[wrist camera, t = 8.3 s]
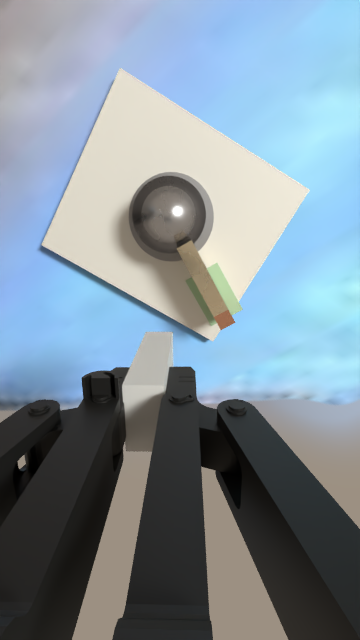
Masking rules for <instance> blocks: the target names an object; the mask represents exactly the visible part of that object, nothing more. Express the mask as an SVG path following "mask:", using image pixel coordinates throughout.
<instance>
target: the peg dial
mask: <svg viewBox="0 0 360 640" xmlns="http://www.w3.org/2000/svg"><path fill="white" fill-rule="evenodd" d="M132 219H133V224H134V228H135V230H136V232H137V234H138V236H139V238H140V239H141V240H142V241H143V242H144V243H145V244H146V245H147V246H148V247H150V248H151V249H153V250H155V251H158V252H161V253H177V252H179V254H180V256H181V258H182V260H183V262H184V263H185V265H186V267H187V269H188V271H189V273H190V274H191V276H192V278H193V280H194V282H195V284H196V285H197V287H198V289H199V291H200V293H201V295H202V297H203V298H204V300H205V302H206V304H207V306H208V308H209V309H210V311H211V313H212V315H213V317H214V319H215V321H216V322H217V324H218V326H219V328H220V330H222V329H224V328H226V327H228V326H230V325H231V324H233V323H235V321H234V319H233V318H232V316H231V314H230V312H229V310H228V308H227V306H226V304H225V302H224V300H223V299H222V297H221V295H220V293H219V291H218V289H217V287H216V285H215V283H214V282H213V280H212V278H211V276H210V274H209V272H208V270H207V268H206V266H205V264H204V263H203V261H202V259H201V257H200V255H199V253H198V251H197V249H196V247H195V246H194V243H195V242H196V241H197V240H198V238H199V237H200V235H201V233H202V231H203V229H204V226H205V221H206V209H205V204H204V201H203V198H202V196H201V194H200V193H199V191H198V190H197V189H196V188H195V187H194V186H193V185H192V184H191V183H190V182H188V181H187V180H185V179H183V178H180V177H176V176H162V177H158V178H155V179H153V180H151V181H150V182H148V183H147V184H146V185H145V186H143V187H142V189H141V190H140V191H139V193H138V194H137V196H136V198H135V201H134V204H133V210H132Z"/></svg>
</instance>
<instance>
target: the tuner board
mask: <svg viewBox="0 0 360 640" xmlns="http://www.w3.org/2000/svg"><path fill="white" fill-rule="evenodd" d="M162 176H176V177H180V178H183V179H185V180H187V181H188V182H190V183H191V184H192V185H193V186H194V187H195V188H196V189H197V190H198V191H199V193H200V194H201V196H202V198H203V201H204V204H205V209H206V221H205V226H204V229H203V231H202V233H201V235H200V237H199V238H198V240H197V241H196V242H195V243H194V246H195V247H196V249H197V251H198V253H199V255H200V257H201V259H202V261H203V263H204V264H205V266H206V268H207V270H208V272H209V274H210V276H211V278H212V280H213V282H214V283H215V285H216V287H217V289H218V291H219V293H220V295H221V297H222V299H223V300H224V302H225V304H226V306H227V308H228V310H229V312H230V314H231V315H233V314H235V313H237V312H239V311H241V310H242V307H241V306H240V304H239V300H240V299H241V297H242V295H243V294H244V292H245V291H246V289H247V288H248V286H249V284H250V283H251V281H252V280H253V278H254V277H255V275H256V273H257V272H258V270H259V269H260V267H261V266H262V264H263V262H264V261H265V259H266V258H267V256H268V255H269V253H270V251H271V250H272V248H273V247H274V245H275V244H276V242H277V240H278V239H279V237H280V236H281V234H282V233H283V231H284V229H285V228H286V226H287V225H288V223H289V222H290V220H291V218H292V217H293V215H294V214H295V212H296V211H297V209H298V207H299V206H300V204H301V203H302V201H303V200H304V198H305V197H306V195H307V193H308V192H309V189H307V188H306V187H304V186H303V185H301V184H300V183H298V182H297V181H295V180H293V179H292V178H290V177H289V176H287V175H286V174H284V173H283V172H281V171H280V170H278V169H276V168H275V167H273V166H272V165H270V164H269V163H267V162H266V161H264V160H262V159H261V158H259V157H258V156H256V155H255V154H253V153H252V152H250V151H248V150H247V149H245V148H244V147H242V146H241V145H239V144H238V143H236V142H234V141H233V140H231V139H230V138H228V137H227V136H225V135H224V134H222V133H220V132H219V131H217V130H216V129H214V128H213V127H211V126H210V125H208V124H206V123H205V122H203V121H202V120H200V119H199V118H197V117H196V116H194V115H192V114H191V113H189V112H188V111H186V110H185V109H183V108H182V107H180V106H179V105H177V104H175V103H174V102H172V101H171V100H169V99H168V98H166V97H165V96H163V95H161V94H160V93H158V92H157V91H155V90H154V89H152V88H151V87H149V86H147V85H146V84H144V83H143V82H141V81H140V80H138V79H137V78H135V77H133V76H132V75H130V74H129V73H127V72H126V71H124V70H123V69H121V68H120V69H119V71H118V74H117V76H116V78H115V80H114V83H113V85H112V87H111V89H110V92H109V94H108V96H107V98H106V101H105V103H104V105H103V107H102V110H101V112H100V114H99V116H98V119H97V121H96V123H95V125H94V128H93V130H92V132H91V134H90V137H89V139H88V141H87V144H86V146H85V148H84V150H83V153H82V155H81V157H80V159H79V162H78V164H77V166H76V168H75V171H74V173H73V175H72V177H71V180H70V182H69V184H68V186H67V189H66V191H65V193H64V195H63V198H62V200H61V202H60V204H59V207H58V209H57V211H56V214H55V216H54V218H53V220H52V223H51V225H50V227H49V229H48V232H47V234H46V236H45V238H44V241H43V243H42V246H44V247H46V248H48V249H50V250H51V251H53V252H55V253H57V254H58V255H60V256H62V257H64V258H66V259H67V260H69V261H71V262H73V263H74V264H76V265H78V266H80V267H82V268H83V269H85V270H87V271H89V272H90V273H92V274H94V275H96V276H98V277H99V278H101V279H103V280H105V281H106V282H108V283H110V284H112V285H114V286H115V287H117V288H119V289H121V290H122V291H124V292H126V293H128V294H130V295H131V296H133V297H135V298H137V299H138V300H140V301H142V302H144V303H146V304H147V305H149V306H151V307H153V308H154V309H156V310H158V311H160V312H162V313H163V314H165V315H167V316H169V317H170V318H172V319H174V320H176V321H178V322H179V323H181V324H183V325H185V326H186V327H188V328H190V329H192V330H194V331H195V332H197V333H199V334H201V335H202V336H204V337H206V338H208V339H210V340H211V341H214V339H215V338H216V336H217V335H218V333H219V331H220V328H219V326H218V324H217V322H216V321H215V319H214V317H213V315H212V313H211V311H210V309H209V308H208V306H207V304H206V302H205V300H204V298H203V297H202V295H201V293H200V291H199V289H198V287H197V285H196V284H195V282H194V280H193V278H192V276H191V274H190V273H189V271H188V269H187V267H186V265H185V263H184V262H183V260H182V258H181V256H180V254H179V252H177V253H161V252H158V251H155V250H153V249H151V248H150V247H148V246H147V245H146V244H145V243H144V242H143V241H142V240H141V239H140V238H139V236H138V234H137V232H136V230H135V228H134V224H133V219H132V210H133V204H134V201H135V198H136V196H137V194H138V193H139V191H140V190H141V189H142V187H143V186H145V185H146V184H147V183H148V182H150V181H151V180H153V179H155V178H158V177H162Z"/></svg>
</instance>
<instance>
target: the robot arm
mask: <svg viewBox="0 0 360 640" xmlns="http://www.w3.org/2000/svg"><path fill="white" fill-rule="evenodd" d="M82 387H83V398H84V399H83V400H82V402H81V404H80V405H79V407H78V408H73V409H68V410H62V411H60V404H59V403H58V402H57V401H53V400H38V401H35V402H33V403H30V404H28V405H26V406H24V407H22V408H21V409H20V410H18V411H17V412H15V413H14V414H12V415H11V416H10V417H8V418H7V419H5V420H4V421H2V422H1V423H0V640H72V637H73V634H74V630H75V627H76V623H77V620H78V616H79V613H80V609H81V606H82V602H83V599H84V595H85V592H86V588H87V584H88V581H89V578H90V574H91V571H92V567H93V564H94V560H95V557H96V554H97V550H98V547H99V543H100V539H101V536H102V532H103V529H104V526H105V522H106V519H107V515H108V512H109V508H110V505H111V501H112V498H113V494H114V491H115V487H116V484H117V480H118V477H119V473H120V469H121V467H122V463H123V445H124V442H125V444H126V451H152V455H151V461H150V467H149V473H148V478H147V484H146V490H145V496H144V502H143V508H142V514H141V520H140V525H139V531H138V536H137V542H136V549H135V554H134V560H133V566H132V571H131V577H130V583H129V589H128V595H127V601H126V606H125V611H124V614H123V617H122V618H120V619H118V622H117V624H116V627H115V630H114V635H113V639H112V640H213V636H212V625H211V621H210V616H209V603H208V584H207V566H206V547H205V529H204V510H203V494H202V493H203V492H202V474H201V466H202V467H205V468H209V469H213V470H216V477H217V480H218V482H219V484H220V487H221V489H222V491H223V493H224V496H225V498H226V500H227V502H228V505H229V507H230V509H231V511H232V514H233V516H234V518H235V520H236V522H237V525H238V527H239V529H240V532H241V534H242V536H243V538H244V541H245V542H246V545H247V547H248V549H249V552H250V554H251V556H252V559H253V561H254V563H255V565H256V568H257V570H258V572H259V574H260V577H261V579H262V581H263V583H264V586H265V588H266V590H267V592H268V595H269V597H270V599H271V601H272V603H273V606H274V608H275V610H276V612H277V615H278V617H279V619H280V622H281V624H282V626H283V628H284V631H285V633H286V635H287V637H288V639H289V640H360V529H359V528H358V526H357V525H356V524H355V523H354V522H353V521H352V519H351V518H350V517H349V516H348V515H347V514H346V513H345V511H344V510H343V509H342V508H341V507H340V506H339V504H338V503H337V502H336V501H335V500H334V499H333V497H332V496H331V495H330V494H329V493H328V492H327V490H326V489H325V488H324V487H323V486H322V485H321V484H320V482H319V481H318V480H317V479H316V478H315V476H314V475H313V474H312V473H311V472H310V471H309V470H308V468H307V467H306V466H305V465H304V464H303V463H302V462H301V460H300V459H299V458H298V457H297V456H296V455H295V454H294V452H293V451H292V450H291V449H290V448H289V446H288V445H287V444H286V443H285V442H284V441H283V439H282V438H281V437H280V436H279V435H278V434H277V432H276V431H275V430H274V429H273V428H272V427H271V425H270V424H269V423H268V422H267V421H266V420H265V418H264V417H263V416H262V415H261V414H260V413H259V411H258V410H257V409H256V408H255V407H254V406H253V405H252V404H250V403H248V402H245V401H243V400H238V399H234V400H226V401H223V402H221V403H220V404H219V405H218V407H217V409H213V408H209V407H206V406H204V405H202V404H200V403H199V402H198V400H197V397H196V379H195V371H194V370H193V369H192V368H191V367H173V332H146V333H145V335H144V338H143V340H142V342H141V344H140V346H139V349H138V351H137V353H136V355H135V358H134V360H133V362H132V364H131V366H130V368H127V367H116V368H114V369H113V370H111V371H96V372H92V373H89V374H87V375H85V376H83V377H82ZM23 455H25V461H26V464H25V465H24V466H23V467H22V468H21V469H19V468H18V462H17V461H18V460H19V459H20V458H21V457H22V456H23Z"/></svg>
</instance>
